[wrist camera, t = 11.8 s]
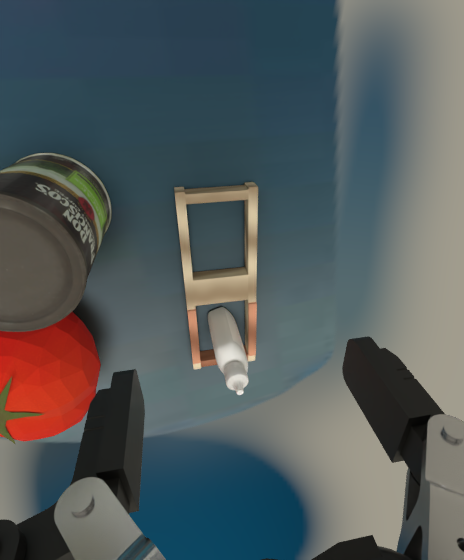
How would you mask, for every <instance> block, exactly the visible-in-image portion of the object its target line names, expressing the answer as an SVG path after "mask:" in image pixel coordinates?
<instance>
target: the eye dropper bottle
mask: <svg viewBox="0 0 464 560" xmlns="http://www.w3.org/2000/svg"><path fill="white" fill-rule="evenodd" d="M208 323H209V328H210V333H211V338H212V343H213V348H214V353H215V358H216V362H217V364H218V367H219V369H220V370H221V371H222V373H223V374H224V376H225V380H226V385H227V387H228V388H229V389H231V390H235V391H236V393H237V394H238V395H242V394H243V388H244V387H245V386H246V385H247V384H248V376H247V370H248V360H247V357H246V353H245V350H244V347H243V344H242V340H241V337H240V334H239V331H238V327H237V324H236V321H235V319H234V317H233V316H232V314H231V313H230V312H229V311H228V310H227V309H226V308H224V307H220V308H217V309H215V310H212V311H210V312H209V314H208Z"/></svg>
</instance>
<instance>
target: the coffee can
mask: <svg viewBox="0 0 464 560" xmlns="http://www.w3.org/2000/svg"><path fill="white" fill-rule="evenodd" d="M110 221H111V203H110V199H109V196H108V193H107V191H106V189H105V187H104V185H103V183H102V182H101V180H100V179H99V178H98V177H97V176H96V175H95V174H94V173H93V172H92V171H91V170H90V169H89V168H88V167H86V166H85V165H83V164H82V163H80V162H78V161H76V160H74V159H72V158H70V157H68V156H64V155H60V154H55V153H38V154H33V155H30V156H27V157H24V158H22V159H20V160H19V161H17V162H16V163H15V164H13V165H11V166H9V167H7V168H5V169H3V170H1V171H0V331H6V332H27V331H34V330H38V329H42V328H46V327H48V326H51V325H53V324H55V323H57V322H59V321H60V320H62V319H64V318H65V317H66V316H67V315H69V314H70V313H71V312H72V311H73V310H74V309H75V308H76V306H77V305H78V303H79V302H80V300H81V298H82V296H83V293H84V290H85V287H86V282H87V277H88V275H89V272H90V270H91V267H92V265H93V262H94V259H95V257H96V254H97V252H98V249H99V247H100V245H101V242H102V239H103V237H104V234H105V233H106V231H107V229H108V227H109V224H110Z"/></svg>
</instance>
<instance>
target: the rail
mask: <svg viewBox="0 0 464 560" xmlns="http://www.w3.org/2000/svg"><path fill="white" fill-rule="evenodd" d="M174 191H175V200H176V210H177V219H178V228H179V237H180V247H181V256H182V265H183V275H184V284H185V293H186V303H187V312H188V321H189V330H190V340H191V349H192V358H193V367H194V369H200V368H201V367H204V366H211V365H218V364H217V362H216V358H215V353H214V349H213V350H206V351H200V350H199V339H198V328H197V317H196V307H195V306H198V305H206V304H215V303H223V302H232V301H240V300H245V345H243V347H244V350H245V353H246V357H247V360H248V361H255V355H256V313H257V303H256V278H257V219H258V186H257V185H256V184H255V183H254V182H247V183H244V185H238V186H223V187H209V188H194V189H184V187H174ZM236 200H245V267H239V268H229V269H220V270H210V271H201V272H192V264H191V253H190V242H189V231H188V221H187V210H186V204H196V203H209V202H222V201H236Z"/></svg>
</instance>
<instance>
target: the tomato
mask: <svg viewBox="0 0 464 560" xmlns="http://www.w3.org/2000/svg"><path fill="white" fill-rule="evenodd" d="M100 366H101V364H100V360H99V356H98V353H97V349H96V346H95V342H94V339H93V336H92V335H91V333H90V332H89V330H88V329H87V327H86V326H85V324H84V323H83V321H82V320H80V319H79V318H78V317H77V316H76V315H75V314H74V313H73V312H71V313H70V314H69V315H67V316H66V317H65V318H64V319H62V320H60V321H59V322H57V323H55V324H53V325H51V326H48V327H46V328H42V329H38V330H34V331H27V332H6V331H0V436H1V437H6V438H7V439H9V440H10V441H12V442H13V443H15V442H14V440H13V439H15V440H20V441H30V440H36V439H41V438H46V437H51V436H55V435H57V434H59V433H61V432H63V431H65V430H66V429H68V428H70V427H72V426H73V425H75V424H77V423H78V422H80V421H81V420H82V419H83V417H84V416H85V414H86V413H87V411H88V410H89V406H90V403H91V401H92V400H93V398H94V397H95V395H96V386H97V381H98V376H99V371H100Z"/></svg>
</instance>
